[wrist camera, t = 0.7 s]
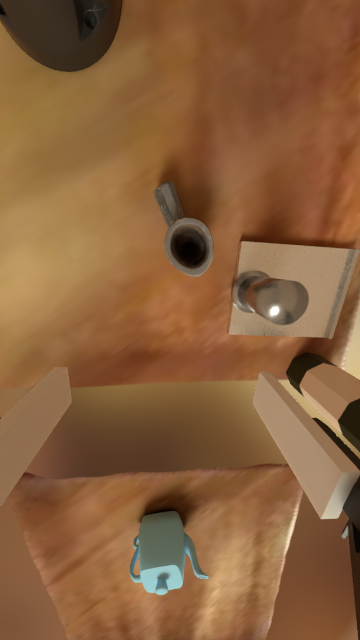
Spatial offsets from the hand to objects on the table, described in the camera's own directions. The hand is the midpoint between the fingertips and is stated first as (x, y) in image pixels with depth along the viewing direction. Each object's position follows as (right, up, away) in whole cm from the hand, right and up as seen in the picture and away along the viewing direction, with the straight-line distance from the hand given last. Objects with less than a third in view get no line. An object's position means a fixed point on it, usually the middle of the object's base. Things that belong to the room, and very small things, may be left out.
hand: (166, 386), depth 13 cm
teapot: (-2, -50, +38) cm, 63 cm away
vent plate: (+20, +10, +21) cm, 31 cm away
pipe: (+1, +18, +18) cm, 25 cm away
